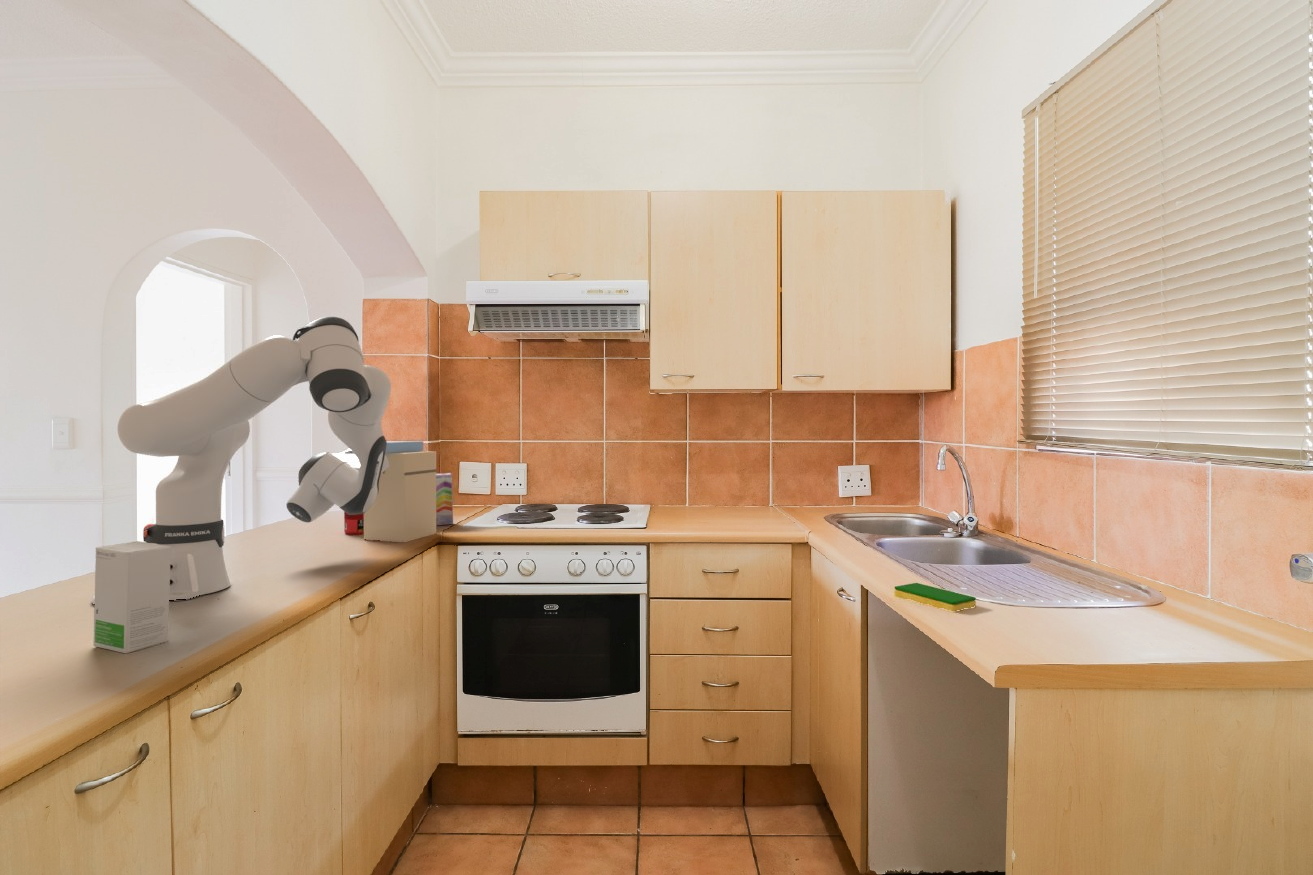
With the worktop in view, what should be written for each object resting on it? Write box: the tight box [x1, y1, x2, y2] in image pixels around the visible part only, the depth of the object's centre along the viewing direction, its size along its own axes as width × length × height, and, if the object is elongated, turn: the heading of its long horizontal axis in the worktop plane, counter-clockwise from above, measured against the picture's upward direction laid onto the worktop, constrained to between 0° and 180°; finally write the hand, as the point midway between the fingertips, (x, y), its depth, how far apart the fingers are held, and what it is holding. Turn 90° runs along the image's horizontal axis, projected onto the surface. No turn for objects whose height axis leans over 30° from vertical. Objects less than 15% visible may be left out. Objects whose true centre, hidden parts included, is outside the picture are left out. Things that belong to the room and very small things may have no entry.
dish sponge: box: [894, 582, 977, 611], centre depth 131 cm, size 7×14×2 cm, turn 31°
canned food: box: [343, 511, 364, 536], centre depth 207 cm, size 8×8×11 cm
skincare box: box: [92, 541, 171, 654], centre depth 103 cm, size 8×7×16 cm
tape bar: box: [386, 440, 424, 453], centre depth 197 cm, size 25×4×3 cm, turn 165°
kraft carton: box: [363, 450, 437, 543], centre depth 201 cm, size 16×14×26 cm
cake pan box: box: [436, 472, 454, 526], centre depth 223 cm, size 19×5×18 cm, turn 111°
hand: (368, 449), depth 186 cm, fingers open, 8 cm apart
